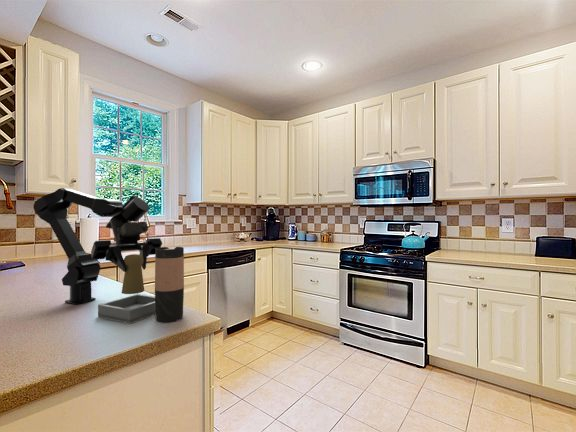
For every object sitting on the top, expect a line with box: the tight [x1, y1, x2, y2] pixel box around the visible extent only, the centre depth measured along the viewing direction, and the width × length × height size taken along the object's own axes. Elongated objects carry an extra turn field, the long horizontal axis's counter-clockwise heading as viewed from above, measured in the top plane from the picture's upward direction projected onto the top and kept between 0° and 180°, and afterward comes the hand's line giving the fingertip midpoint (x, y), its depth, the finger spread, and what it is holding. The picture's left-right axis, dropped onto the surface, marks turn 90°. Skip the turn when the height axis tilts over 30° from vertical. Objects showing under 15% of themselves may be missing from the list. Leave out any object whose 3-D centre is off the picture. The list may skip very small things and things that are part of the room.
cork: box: [120, 253, 145, 295], centre depth 87 cm, size 6×6×11 cm
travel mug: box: [154, 246, 185, 324], centre depth 83 cm, size 8×8×20 cm
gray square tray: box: [97, 293, 156, 325], centre depth 87 cm, size 13×13×4 cm
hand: (135, 269), depth 86 cm, fingers closed on cork, 5 cm apart
